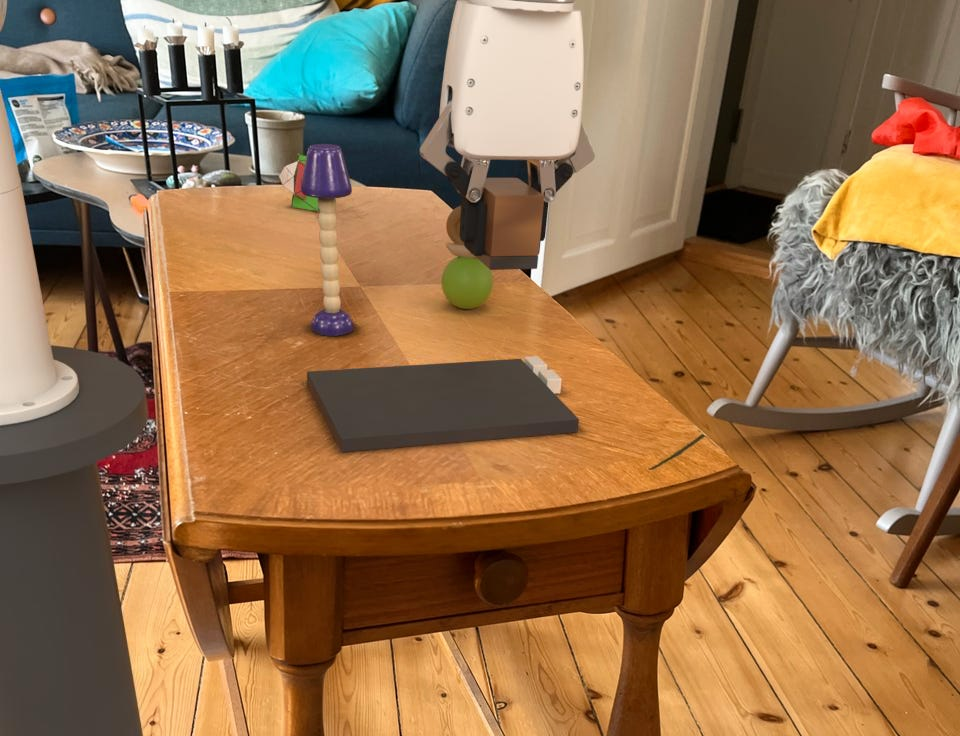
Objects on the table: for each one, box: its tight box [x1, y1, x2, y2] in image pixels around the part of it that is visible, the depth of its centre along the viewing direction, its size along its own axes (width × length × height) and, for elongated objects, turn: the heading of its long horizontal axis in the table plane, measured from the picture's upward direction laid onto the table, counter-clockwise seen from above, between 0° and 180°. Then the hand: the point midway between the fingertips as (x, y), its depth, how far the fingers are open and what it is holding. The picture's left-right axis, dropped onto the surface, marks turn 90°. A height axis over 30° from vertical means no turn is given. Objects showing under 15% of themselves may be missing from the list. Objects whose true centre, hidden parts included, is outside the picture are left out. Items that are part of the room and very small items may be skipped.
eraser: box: [467, 177, 544, 271], centre depth 82 cm, size 4×6×6 cm, turn 19°
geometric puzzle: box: [278, 153, 320, 213], centre depth 140 cm, size 7×7×8 cm
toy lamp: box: [301, 143, 355, 337], centre depth 98 cm, size 5×5×17 cm
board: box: [306, 358, 580, 453], centre depth 88 cm, size 20×14×1 cm
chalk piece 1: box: [523, 355, 548, 376], centre depth 96 cm, size 1×2×1 cm
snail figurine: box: [441, 205, 494, 310], centre depth 107 cm, size 5×6×12 cm
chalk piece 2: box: [538, 368, 563, 395], centre depth 93 cm, size 1×2×1 cm
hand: (501, 248), depth 83 cm, fingers closed on eraser, 4 cm apart
